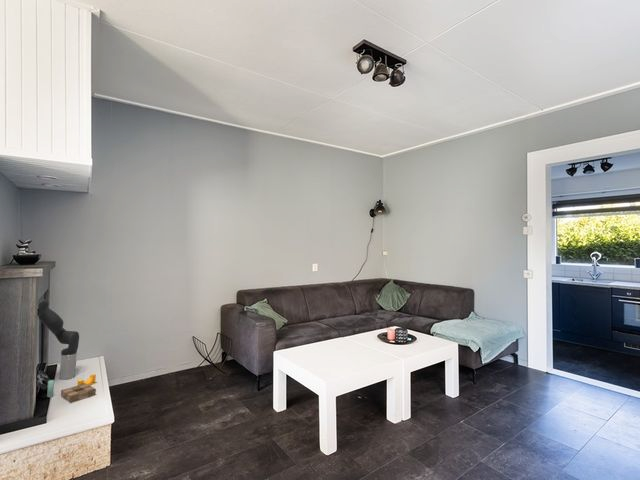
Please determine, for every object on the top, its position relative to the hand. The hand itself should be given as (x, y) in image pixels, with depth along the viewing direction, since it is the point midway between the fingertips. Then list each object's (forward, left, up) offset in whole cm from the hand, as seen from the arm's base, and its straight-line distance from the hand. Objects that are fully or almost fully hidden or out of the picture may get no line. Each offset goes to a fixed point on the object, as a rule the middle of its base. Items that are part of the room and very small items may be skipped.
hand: (48, 385), depth 214 cm
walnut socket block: (+13, +12, -7) cm, 19 cm away
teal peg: (+1, +1, -7) cm, 7 cm away
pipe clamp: (+1, +21, -8) cm, 22 cm away
